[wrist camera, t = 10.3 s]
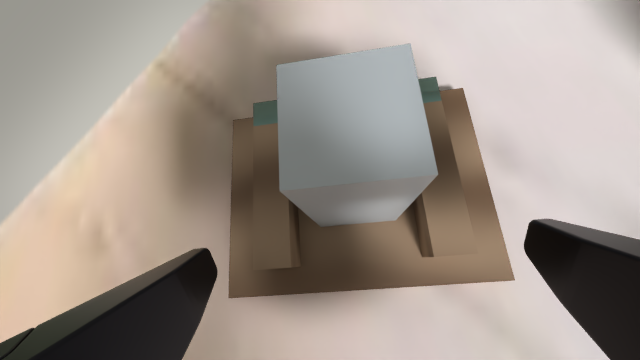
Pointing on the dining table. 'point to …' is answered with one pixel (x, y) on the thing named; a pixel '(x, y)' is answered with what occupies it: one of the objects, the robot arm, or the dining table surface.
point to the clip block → (353, 136)
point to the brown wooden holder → (366, 238)
